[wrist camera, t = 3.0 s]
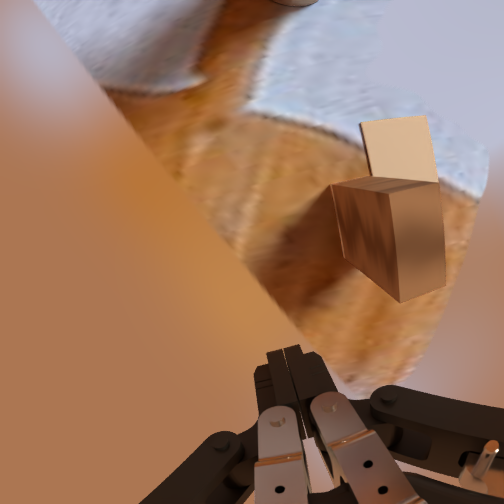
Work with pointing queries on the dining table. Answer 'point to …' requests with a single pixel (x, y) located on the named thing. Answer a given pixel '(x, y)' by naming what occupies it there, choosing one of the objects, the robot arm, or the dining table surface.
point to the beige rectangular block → (400, 148)
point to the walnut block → (393, 233)
